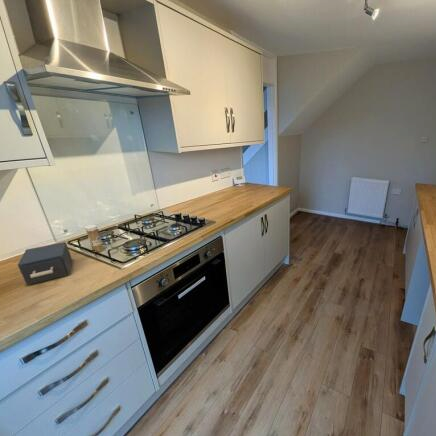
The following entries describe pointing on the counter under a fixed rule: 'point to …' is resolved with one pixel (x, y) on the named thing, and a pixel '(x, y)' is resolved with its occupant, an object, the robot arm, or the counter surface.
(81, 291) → the counter surface
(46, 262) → the drawer
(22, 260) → the cabinet
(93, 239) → the sprinkles bottle
